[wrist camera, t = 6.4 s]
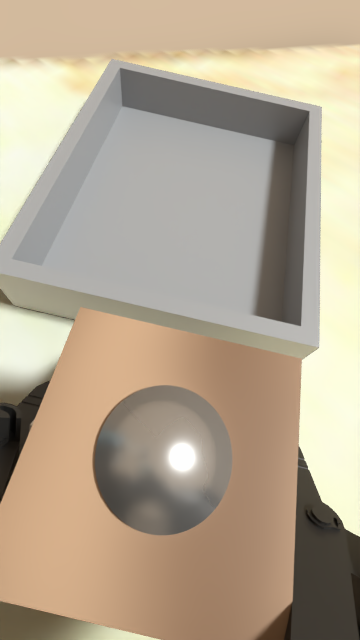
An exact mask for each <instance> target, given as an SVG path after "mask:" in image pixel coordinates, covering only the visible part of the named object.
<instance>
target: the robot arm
mask: <svg viewBox="0 0 360 640" xmlns="http://www.w3.org/2000/svg"><path fill="white" fill-rule="evenodd" d="M49 383H50V381H48V382H45V383H43V384H41V385H39V386H37V387H36V388H35V389H34V390H33V391H32V392H31V393H30V394H29V395H28V396H27V397H26V398H25V399H24V400H23V401H22V403H20V404H19V405H18V406H17V407H16V406H14V405H12V404H7V403H0V504H1V501H2V499H3V496H4V494H5V491H6V489H7V486H8V484H9V481H10V479H11V476H12V474H13V472H14V469H15V467H16V464H17V462H18V459H19V457H20V454H21V452H22V449H23V447H24V444H25V442H26V440H27V437H28V435H29V432H30V430H31V427H32V425H33V422H34V420H35V417H36V415H37V412H38V410H39V408H40V405H41V403H42V400H43V398H44V395H45V393H46V390H47V388H48V385H49ZM284 640H360V537H359V536H357V535H355V534H353V533H351V532H349V531H348V530H346V529H344V526H343V523H342V521H341V519H340V518H339V516H338V515H337V514H336V513H335V512H334V511H333V510H332V509H331V508H330V507H329V506H328V505H326V504H324V503H323V502H322V501H321V498H320V496H319V493H318V491H317V488H316V486H315V484H314V481H313V479H312V476H311V474H310V471H309V470H308V466H307V464H306V461H304V457H303V454H302V452H301V449H300V447H299V446H298V470H297V497H296V524H295V551H294V577H293V602H292V605H291V610H290V615H289V619H288V624H287V628H286V633H285V637H284Z"/></svg>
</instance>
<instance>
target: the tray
mask: <svg viewBox="0 0 360 640" xmlns="http://www.w3.org/2000/svg"><path fill="white" fill-rule="evenodd" d="M321 118H322V107H320V106H316V105H311V104H307V103H302V102H298V101H294V100H289V99H285V98H281V97H276V96H272V95H267V94H263V93H259V92H254V91H250V90H246V89H241V88H237V87H232V86H228V85H224V84H219V83H215V82H210V81H206V80H202V79H197V78H193V77H189V76H184V75H180V74H175V73H171V72H167V71H162V70H158V69H154V68H149V67H145V66H140V65H136V64H132V63H127V62H123V61H118V60H114V59H111V61H110V63H109V64H108V66H107V68H106V69H105V71H104V73H103V74H102V76H101V78H100V79H99V81H98V83H97V84H96V86H95V88H94V89H93V91H92V92H91V94H90V96H89V97H88V99H87V101H86V102H85V104H84V106H83V107H82V109H81V111H80V112H79V114H78V116H77V117H76V119H75V121H74V122H73V124H72V126H71V127H70V129H69V131H68V132H67V134H66V136H65V137H64V139H63V141H62V142H61V144H60V146H59V147H58V149H57V151H56V152H55V154H54V155H53V157H52V159H51V160H50V162H49V164H48V165H47V167H46V169H45V170H44V172H43V174H42V175H41V177H40V179H39V180H38V182H37V184H36V185H35V187H34V189H33V190H32V192H31V194H30V195H29V197H28V199H27V200H26V202H25V204H24V205H23V207H22V209H21V210H20V212H19V214H18V215H17V217H16V218H15V220H14V222H13V223H12V225H11V227H10V228H9V230H8V232H7V233H6V235H5V237H4V238H3V240H2V242H1V243H0V289H1V290H2V291H3V293H4V294H5V295H6V296H7V298H8V299H9V300H10V301H11V303H12V304H13V305H14V306H18V307H22V308H27V309H31V310H35V311H39V312H44V313H48V314H52V315H56V316H61V317H65V318H69V319H74V320H75V319H76V316H77V314H78V312H79V309H80V307H83V308H87V309H92V310H96V311H100V312H104V313H109V314H113V315H117V316H122V317H126V318H130V319H134V320H139V321H143V322H147V323H151V324H156V325H160V326H164V327H169V328H173V329H177V330H181V331H186V332H190V333H194V334H199V335H203V336H207V337H211V338H216V339H220V340H224V341H229V342H233V343H237V344H241V345H246V346H250V347H254V348H258V349H263V350H267V351H271V352H276V353H280V354H284V355H288V356H293V357H297V358H301V359H304V358H305V357H307V356H308V355H309V354H311V353H312V352H314V351H315V350H317V349H318V348H319V318H320V218H321Z"/></svg>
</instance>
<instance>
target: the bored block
mask: <svg viewBox="0 0 360 640" xmlns="http://www.w3.org/2000/svg"><path fill="white" fill-rule="evenodd" d="M301 363H302V359H301V358H297V357H293V356H288V355H284V354H280V353H276V352H271V351H267V350H263V349H258V348H254V347H250V346H246V345H241V344H237V343H233V342H229V341H224V340H220V339H216V338H211V337H207V336H203V335H199V334H194V333H190V332H186V331H181V330H177V329H173V328H169V327H164V326H160V325H156V324H151V323H147V322H143V321H139V320H134V319H130V318H126V317H122V316H117V315H113V314H109V313H104V312H100V311H96V310H92V309H87V308H83V307H80V309H79V312H78V314H77V316H76V319H75V321H74V324H73V326H72V329H71V331H70V334H69V336H68V339H67V341H66V344H65V346H64V348H63V351H62V353H61V356H60V358H59V361H58V363H57V366H56V368H55V371H54V373H53V376H52V378H51V380H50V383H49V385H48V388H47V390H46V393H45V395H44V398H43V400H42V403H41V405H40V408H39V410H38V412H37V415H36V417H35V420H34V422H33V425H32V427H31V430H30V432H29V435H28V437H27V440H26V442H25V444H24V447H23V449H22V452H21V454H20V457H19V459H18V462H17V464H16V467H15V469H14V472H13V474H12V476H11V479H10V481H9V484H8V486H7V489H6V491H5V494H4V496H3V499H2V501H1V504H0V601H3V602H7V603H11V604H15V605H19V606H23V607H28V608H32V609H36V610H40V611H44V612H48V613H53V614H57V615H61V616H65V617H69V618H73V619H78V620H82V621H86V622H90V623H94V624H98V625H103V626H107V627H111V628H115V629H119V630H124V631H128V632H132V633H136V634H140V635H144V636H149V637H153V638H157V639H161V640H284V637H285V633H286V628H287V624H288V619H289V615H290V610H291V605H292V602H293V577H294V551H295V524H296V497H297V470H298V443H299V416H300V389H301Z"/></svg>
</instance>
